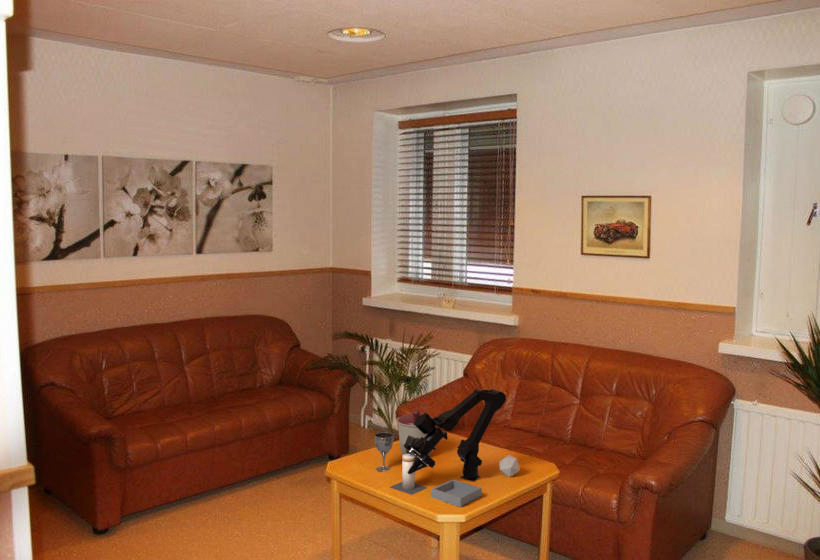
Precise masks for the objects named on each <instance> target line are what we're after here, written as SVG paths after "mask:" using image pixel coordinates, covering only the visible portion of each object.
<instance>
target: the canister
mask: <svg viewBox="0 0 820 560" xmlns="http://www.w3.org/2000/svg"><path fill="white" fill-rule="evenodd" d="M422 414H423V413H421V411H420V410H418V409H414V410H413V411H412V413H405V414H402V415H400V416H399V417H397V418H396V420H395V421H396V423H397V428H398V437H399V440H398V441H399V447H400V452H401V454H402V455H404V454H407V453H406V448H405V447H404V444H405V442H406V440H407V437H408V435H409V436H412V437H414V438H419V439H420V438H421V437H423V438H424V437H425V436H426V435H427V434H423V433H422V432H421V431H420V430H419V429H418V428H417V427H416V426H415V425H414V421H415V419H416V418H417V417H419V416H420V415H422ZM428 415H429V416H430V417H431V418H434V417H433V416H431V415H430V414H428ZM431 452H432V451H431ZM431 452H430V454H431ZM430 454H429V456H430ZM417 457H418V456H417ZM418 458H419V457H418Z"/></svg>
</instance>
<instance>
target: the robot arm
mask: <svg viewBox="0 0 820 560" xmlns="http://www.w3.org/2000/svg"><path fill="white" fill-rule="evenodd" d="M506 400H507V396H506V394H505V393H504V392H503V391H500V390H498V389H496V388H491V389H480V388H479V389H478V388H476V389H474V390H473V391H472V392H471V393H470V394H469V395H468V396H467V397H465V398H464V399H463V400H461V401H460V402H459V403H458V404H456V406H454V407H453V408H452V409H449V410H446V411H444V412H442V413H441V414H439V415H438V416H436V417H433V418H431V417H430V416H431V415H430V414H429V413H427V412H423V413H421V414H422V415H420V416H419V417H417V418H416V419H415V421H414V425H415V426H416V427H417V428H418V429H419V430H420V431H421V432H422V433H423V434H427V435H426V436H425V437H424V438H423V437H421V438H420V439H419V438H414V437H412V436H409V435H408V437H407V440H406V442H405V444H404V447H405V448H406V453H407V454H408V453H409V454H414V455H415V462H414V463H413V465H412V466H411V467H410V469H409V471H408V472H407V473H408V474H411V473H413V472H418V471H421V470H422V469H425V468H429V467H430V468H431V469H433V468H434V466H435V465H436V461H435V460H434V458H432V457H431V456H430V455H429V454H431V453H430V452H432V451H433V452H434V451H436V449H437V448H436V446H437V445H438V444H439V443H440V442H441V441H442V439H444V440H446V441H447V440H448V439H449V438H448V432H450V431H451V432H452V431H453V430H454V429H455V428H456V427H457V425H458V424H459V423H460V420H461V418H462V417H464V416H465V415H466V414H467V413H469V412H470V410H472V409H473V408H475V406H476V405H478V404H479V403H481V402H482V401H484V406H483V409H482V411H481V413H480V415H479V416H478V419H477V420H476V422H475V425H474V426H473V428H472V430H471V433H470V434H469V436H468V438H466V439H465V440H464V439H461V440H460V443H459V445H458V446H457V447H456V448H457V450H456V453H457V454H456V455H457V456H458V458H459V459H460V461H461V462H463V466H462V467H463V469H462V475H461V476H460V477H459V478H460V479H462V480H466V481H470V482H475V481H477V480H478V479H481V478H482V476H481V475H479V467H480V466H482V463H483V460H482V459H481V458H480V457H479V456H478V455H479V451H480V442H481V441H482V439H483V436H484V434H485V432H486V431H487V428H488V427H489V425H490V423H491V421H492V419H493V417H494V415H495V414H496V413H497V412H498V411H499V410H501V408H502V407H503V406H504V404H505V403H506ZM429 415H430V416H429ZM442 429H443V430H444V431H443V430H442ZM417 456H418V457H419V458H418V457H417Z"/></svg>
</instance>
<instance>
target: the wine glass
mask: <svg viewBox="0 0 820 560" xmlns="http://www.w3.org/2000/svg"><path fill="white" fill-rule="evenodd" d="M374 443H375V447H376V450H377V451H378V452H379V453H380V454H381V457H382V465H380V466H377V467H376V468H375V470H377V471H376V472H379V473H382V472H387V471H390V470H391V469H392V467H390V466H386V457H387V455H388V453H389V452H390V451H391V450H392V447H393V444H394V433H392V432H386V431H385V432H384V431H383V432H376V433H375V434H374Z"/></svg>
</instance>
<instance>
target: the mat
mask: <svg viewBox="0 0 820 560" xmlns="http://www.w3.org/2000/svg"><path fill="white" fill-rule="evenodd" d="M388 488H389V489H393V490H395V491H397V492H398V491H399V492H402V493H405V494H407V495H408V494H409V495H411V496H413V495H415V494H418V493H419V492H422V491H425V490H427V489H428V487H427V486H424V485H420V484H417V483H415V488H414V489H412V490H405V489H403V488H402V481H400V482H398V483H394V485H391V486H388Z"/></svg>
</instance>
